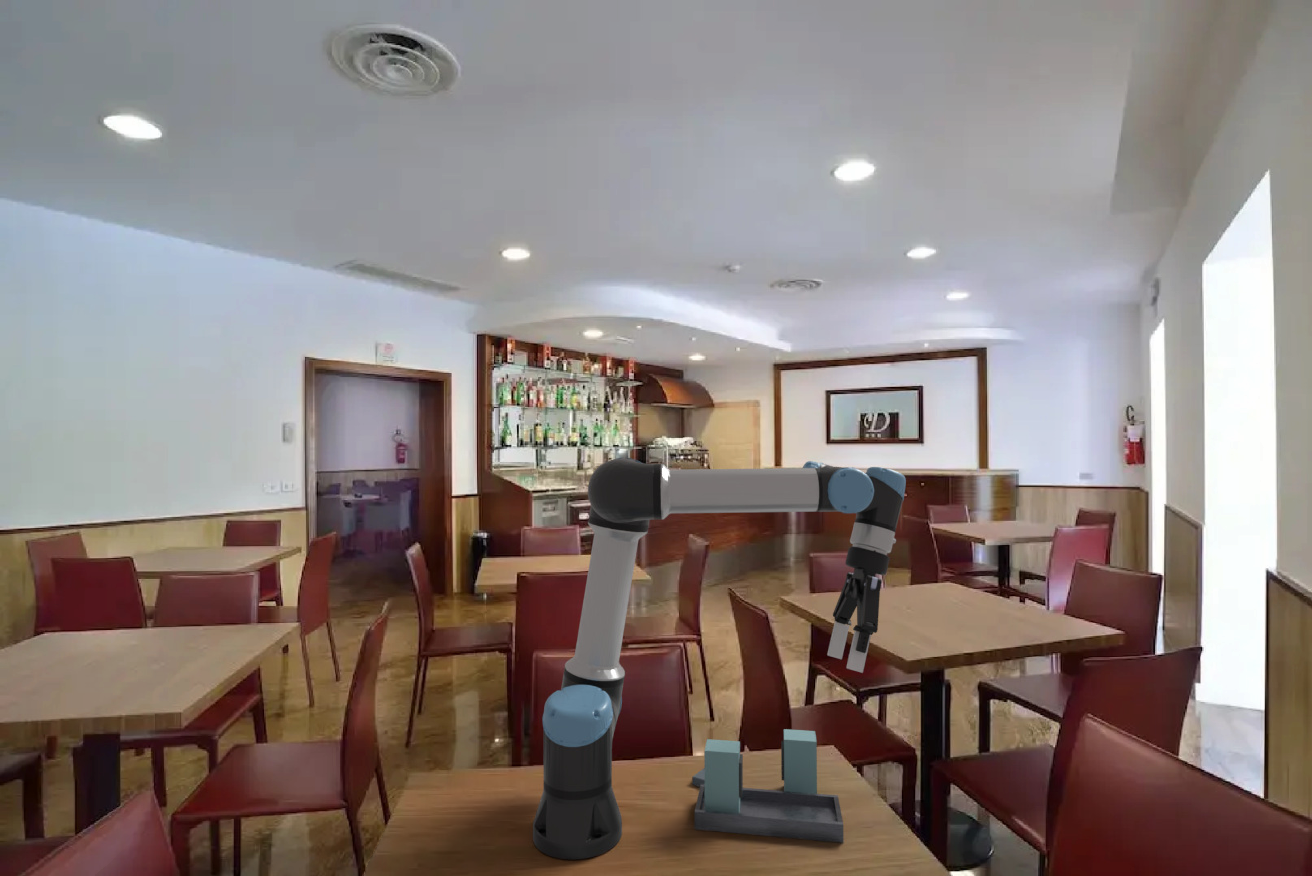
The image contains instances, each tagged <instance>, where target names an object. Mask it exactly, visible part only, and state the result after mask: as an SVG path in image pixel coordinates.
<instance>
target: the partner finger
mask: <svg viewBox="0 0 1312 876" xmlns="http://www.w3.org/2000/svg"><path fill="white" fill-rule="evenodd" d="M703 755H704V761H703V763H704V768H705V810H709V811H720V812H732V813H739V810H740V798H742V791H743V788H744V787H743V785H744V782H743V781H744V780H743V779H744V774H743V772H744V769H743V767H744V766H743V760H744V759H743V753H742V754H741V740H740V741H739V740H738V741H737V740H726V739H725V740H723V739H711V738H710V739H708V738H707V739H706V743H705V747H704V754H703Z"/></svg>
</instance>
